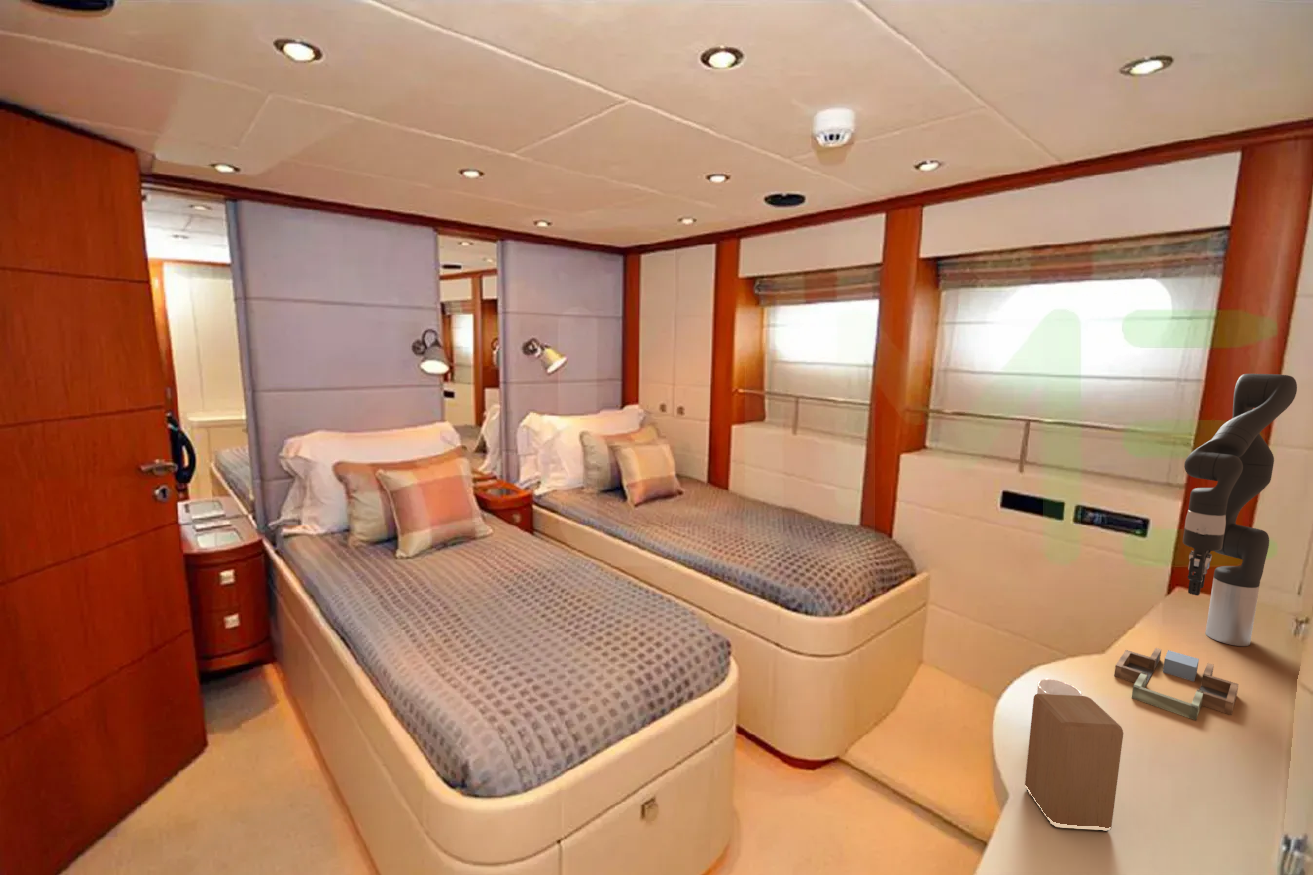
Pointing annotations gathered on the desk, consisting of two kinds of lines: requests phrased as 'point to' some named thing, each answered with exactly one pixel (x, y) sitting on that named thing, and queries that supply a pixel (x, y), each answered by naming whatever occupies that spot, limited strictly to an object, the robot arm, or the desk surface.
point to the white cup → (1056, 688)
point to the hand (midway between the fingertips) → (1195, 590)
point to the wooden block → (1073, 760)
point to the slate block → (1181, 665)
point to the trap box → (1210, 695)
